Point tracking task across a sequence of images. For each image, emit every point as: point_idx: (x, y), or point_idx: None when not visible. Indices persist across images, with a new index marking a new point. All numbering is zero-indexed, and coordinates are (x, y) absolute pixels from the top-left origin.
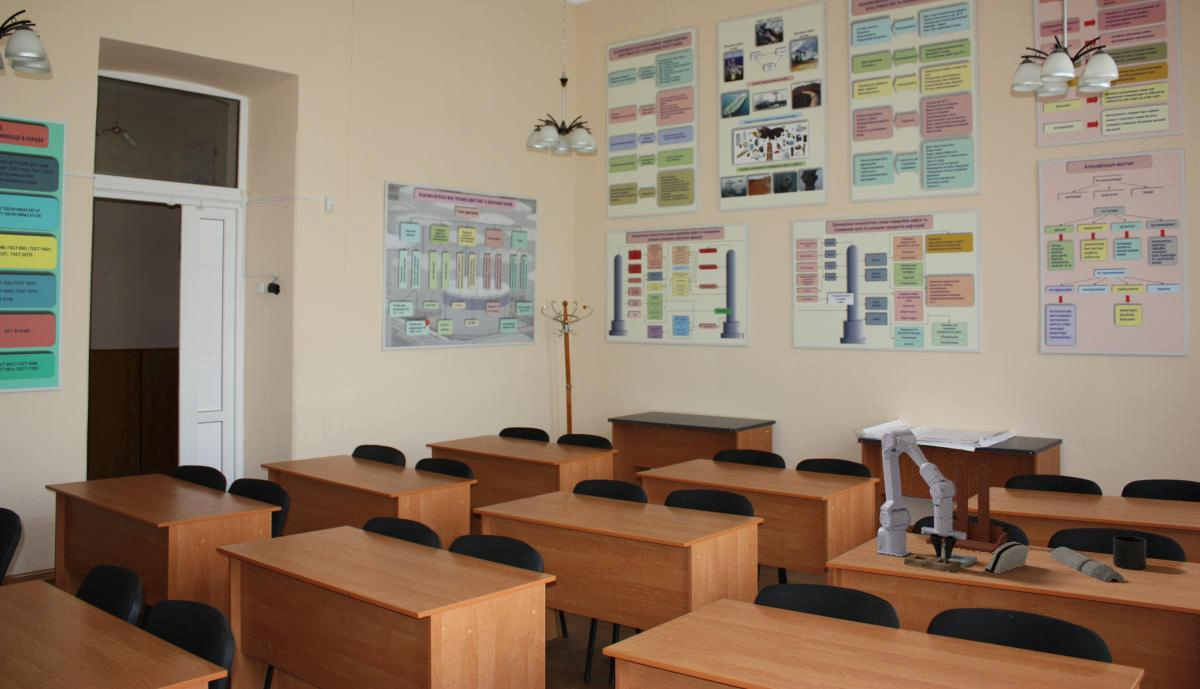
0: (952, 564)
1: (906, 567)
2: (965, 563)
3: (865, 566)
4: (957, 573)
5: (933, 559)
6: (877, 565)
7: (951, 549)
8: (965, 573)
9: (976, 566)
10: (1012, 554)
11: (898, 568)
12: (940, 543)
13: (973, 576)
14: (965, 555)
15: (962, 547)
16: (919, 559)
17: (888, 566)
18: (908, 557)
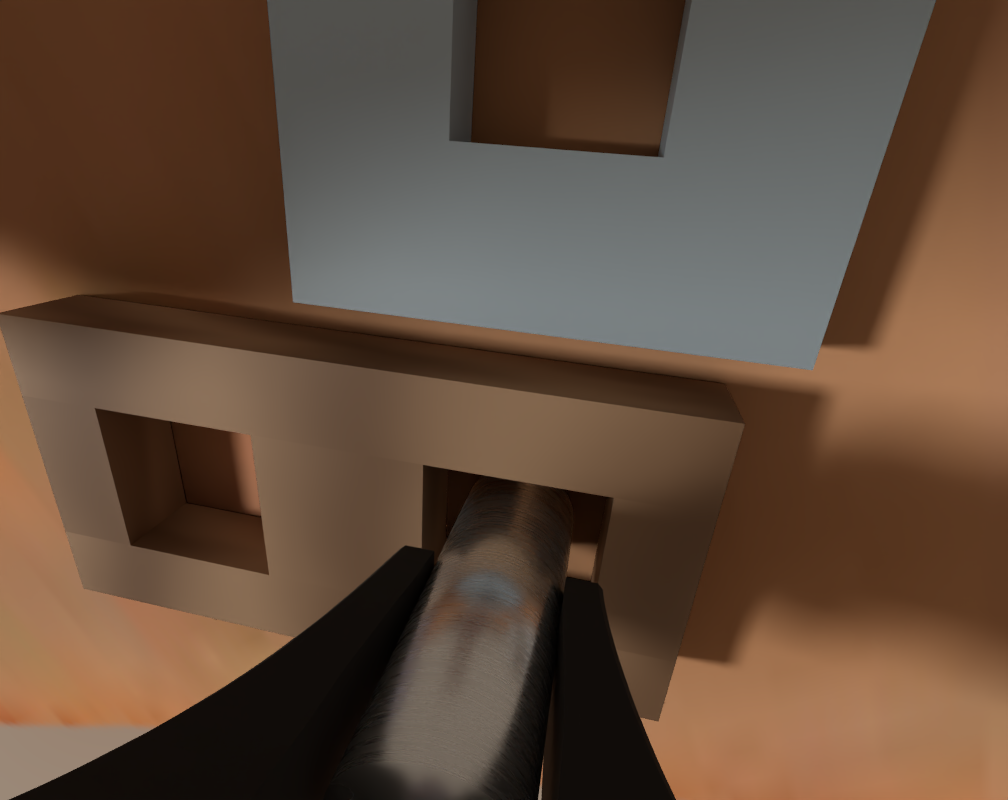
0: (659, 637)
1: (218, 628)
2: (814, 341)
3: (7, 701)
4: (738, 661)
5: (338, 494)
6: (32, 651)
7: (614, 734)
8: (836, 633)
9: (997, 165)
10: None
11: (193, 677)
12: (302, 787)
13: (955, 715)
14: None
15: None
16: (214, 564)
17: (102, 650)
18: (79, 530)
